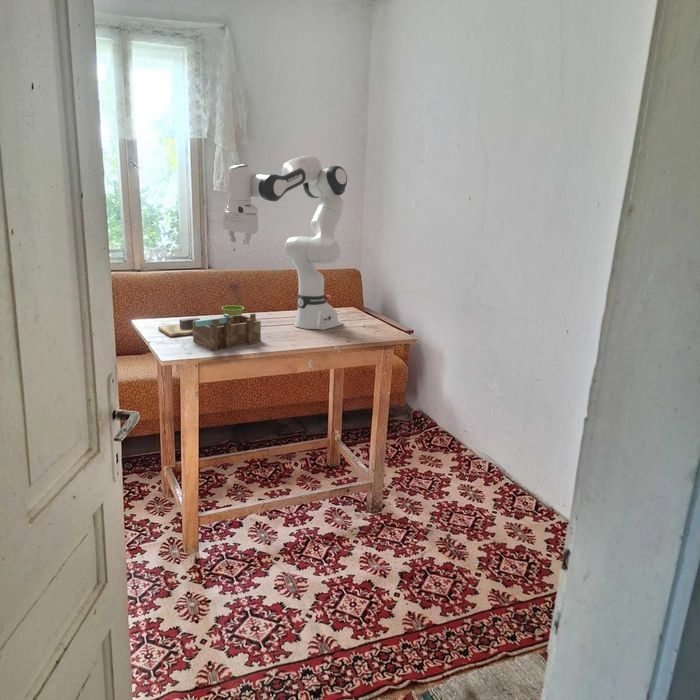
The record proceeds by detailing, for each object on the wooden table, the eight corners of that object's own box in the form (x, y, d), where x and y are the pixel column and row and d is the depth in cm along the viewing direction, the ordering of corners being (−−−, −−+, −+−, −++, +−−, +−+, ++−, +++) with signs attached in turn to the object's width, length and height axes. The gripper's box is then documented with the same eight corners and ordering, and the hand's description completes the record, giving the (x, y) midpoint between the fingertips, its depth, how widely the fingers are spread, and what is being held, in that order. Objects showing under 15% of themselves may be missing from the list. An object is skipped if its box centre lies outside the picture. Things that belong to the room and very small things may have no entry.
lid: (208, 325, 261) (208, 313, 260) (225, 334, 248) (224, 321, 247) (158, 331, 248) (157, 318, 247) (173, 340, 235) (172, 327, 234)
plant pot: (244, 329, 255) (244, 309, 253) (221, 329, 253) (221, 309, 251) (243, 324, 264) (243, 305, 261) (221, 324, 262) (221, 305, 260)
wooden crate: (241, 333, 249) (240, 304, 245) (266, 342, 236) (266, 312, 233) (190, 341, 233) (189, 310, 230) (214, 351, 221) (214, 319, 218)
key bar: (226, 321, 226) (226, 313, 225) (229, 322, 224) (229, 315, 223) (194, 325, 217) (194, 318, 216) (198, 326, 215) (197, 319, 214)
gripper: (218, 206, 239) (218, 241, 243) (247, 209, 225) (247, 246, 228) (231, 206, 243) (232, 240, 247) (261, 209, 229) (260, 245, 232)
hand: (239, 243), depth 237 cm, fingers open, 8 cm apart
